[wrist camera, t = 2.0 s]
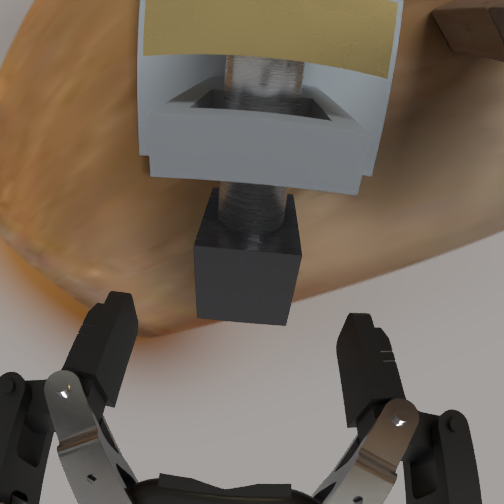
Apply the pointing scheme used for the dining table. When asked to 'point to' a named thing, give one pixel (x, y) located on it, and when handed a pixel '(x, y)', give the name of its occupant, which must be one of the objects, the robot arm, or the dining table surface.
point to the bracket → (259, 124)
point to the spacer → (276, 30)
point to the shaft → (251, 213)
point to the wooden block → (473, 27)
